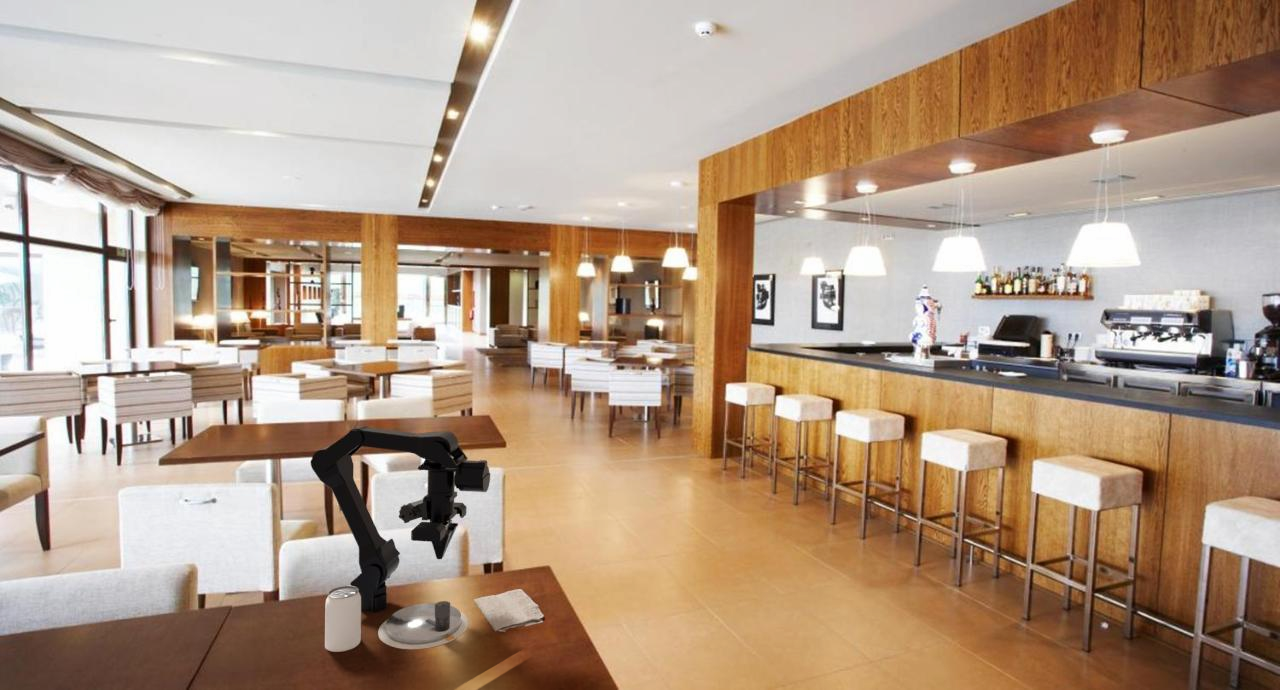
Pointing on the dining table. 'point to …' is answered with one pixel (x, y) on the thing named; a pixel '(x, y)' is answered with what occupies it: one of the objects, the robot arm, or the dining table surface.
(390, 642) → the dial base
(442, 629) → the dial
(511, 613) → the washcloth
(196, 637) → the dining table surface
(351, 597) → the can
